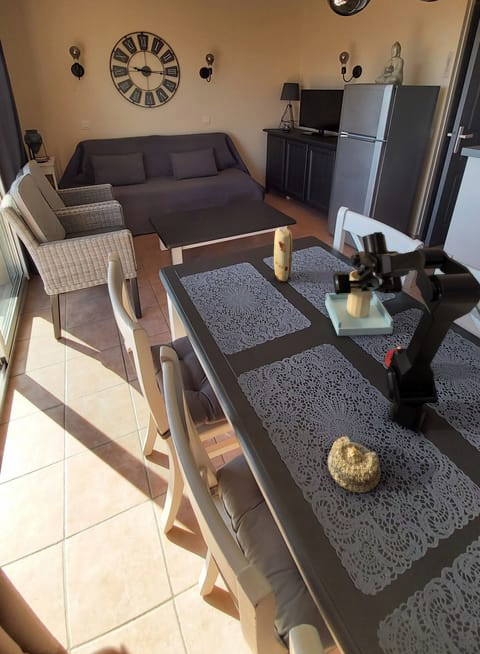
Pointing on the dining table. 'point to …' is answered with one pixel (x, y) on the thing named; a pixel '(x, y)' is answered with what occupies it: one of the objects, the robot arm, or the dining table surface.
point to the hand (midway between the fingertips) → (358, 289)
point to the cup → (358, 300)
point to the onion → (390, 356)
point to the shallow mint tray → (350, 325)
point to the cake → (353, 466)
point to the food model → (283, 254)
